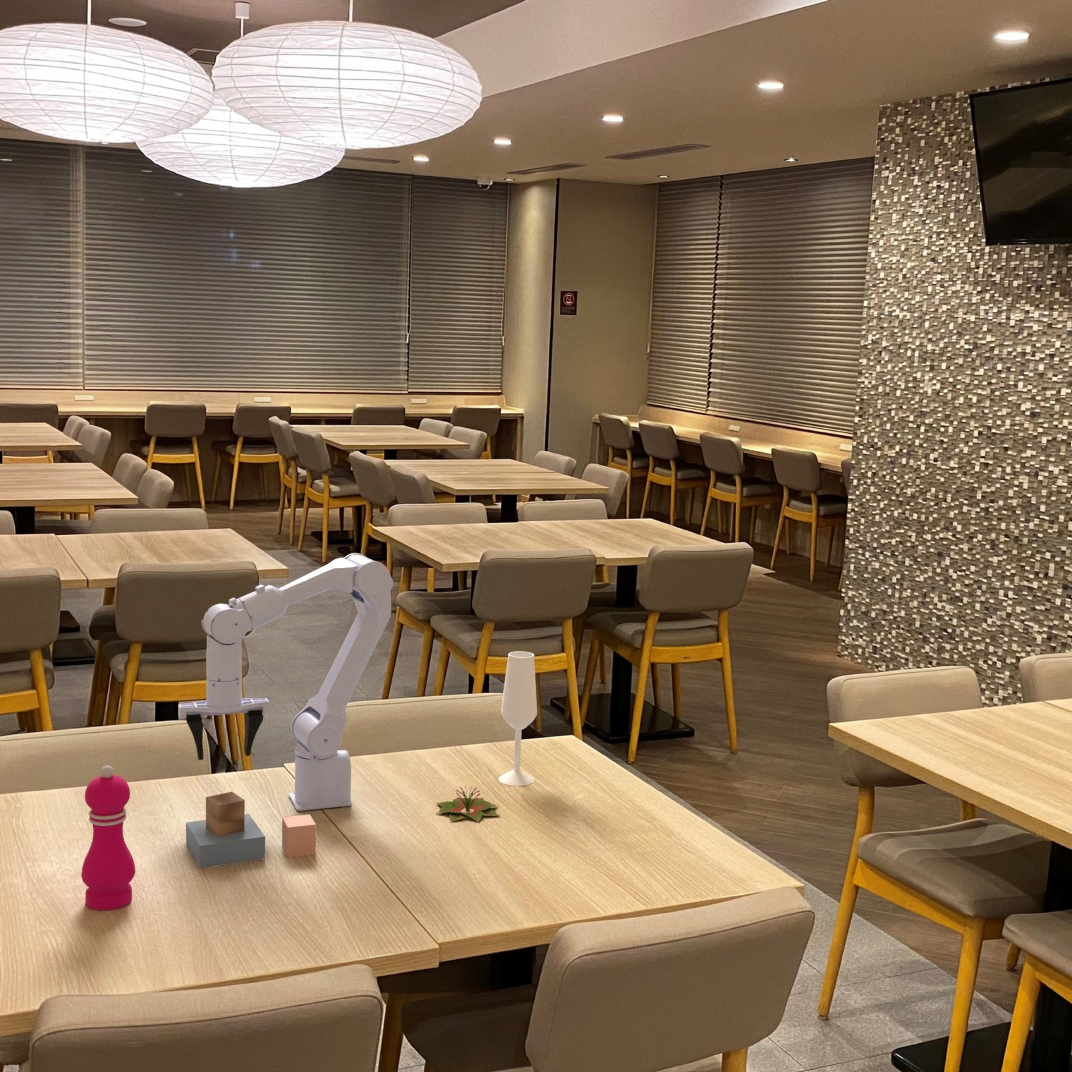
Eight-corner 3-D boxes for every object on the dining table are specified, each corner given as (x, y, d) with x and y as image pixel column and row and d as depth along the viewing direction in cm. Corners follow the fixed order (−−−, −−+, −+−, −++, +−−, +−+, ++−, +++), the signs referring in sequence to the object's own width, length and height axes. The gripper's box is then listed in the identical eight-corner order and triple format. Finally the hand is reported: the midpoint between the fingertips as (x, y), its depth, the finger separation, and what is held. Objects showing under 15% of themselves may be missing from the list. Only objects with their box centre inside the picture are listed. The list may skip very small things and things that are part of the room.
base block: (248, 837, 203) (248, 813, 203) (265, 860, 194) (265, 836, 194) (186, 846, 199) (186, 822, 198) (199, 870, 190) (199, 845, 189)
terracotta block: (309, 844, 201) (309, 814, 200) (315, 854, 197) (315, 824, 196) (281, 847, 199) (282, 817, 198) (287, 858, 195) (287, 827, 194)
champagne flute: (534, 786, 230) (539, 659, 227) (497, 785, 231) (502, 658, 227) (534, 774, 237) (539, 650, 233) (499, 772, 237) (503, 649, 234)
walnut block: (231, 821, 199) (231, 791, 198) (244, 830, 196) (244, 800, 195) (205, 827, 196) (205, 797, 195) (218, 836, 193) (218, 805, 192)
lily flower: (488, 797, 225) (488, 772, 224) (512, 821, 214) (512, 796, 214) (424, 804, 221) (424, 779, 220) (445, 830, 210) (445, 803, 209)
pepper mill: (85, 916, 173) (83, 777, 170) (78, 895, 179) (76, 760, 176) (139, 907, 176) (138, 770, 173) (130, 886, 183) (129, 754, 179)
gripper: (264, 668, 214) (263, 745, 216) (176, 673, 208) (176, 752, 210) (271, 679, 207) (270, 758, 209) (180, 684, 202) (181, 765, 204)
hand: (223, 756), depth 209 cm, fingers open, 7 cm apart
